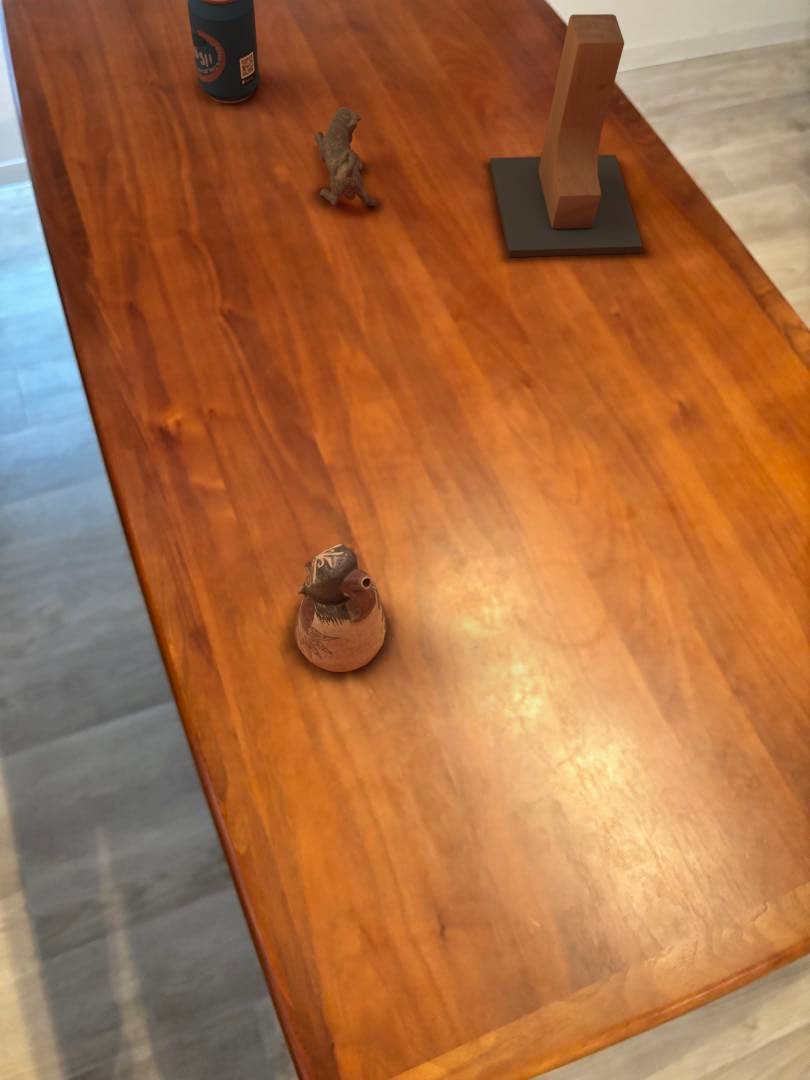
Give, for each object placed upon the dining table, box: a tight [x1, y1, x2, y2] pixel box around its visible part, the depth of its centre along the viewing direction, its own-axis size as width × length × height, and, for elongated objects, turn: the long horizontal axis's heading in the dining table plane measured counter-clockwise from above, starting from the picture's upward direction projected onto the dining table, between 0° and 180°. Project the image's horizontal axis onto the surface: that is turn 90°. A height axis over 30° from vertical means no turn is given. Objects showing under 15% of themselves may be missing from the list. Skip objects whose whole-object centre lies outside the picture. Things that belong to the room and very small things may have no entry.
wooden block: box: [538, 13, 625, 229], centre depth 99 cm, size 9×4×18 cm, turn 6°
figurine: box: [294, 543, 387, 673], centre depth 76 cm, size 7×7×12 cm
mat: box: [489, 154, 644, 258], centre depth 107 cm, size 14×14×1 cm
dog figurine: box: [314, 106, 378, 207], centre depth 105 cm, size 12×6×7 cm, turn 9°
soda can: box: [186, 0, 261, 104], centre depth 109 cm, size 7×7×12 cm
